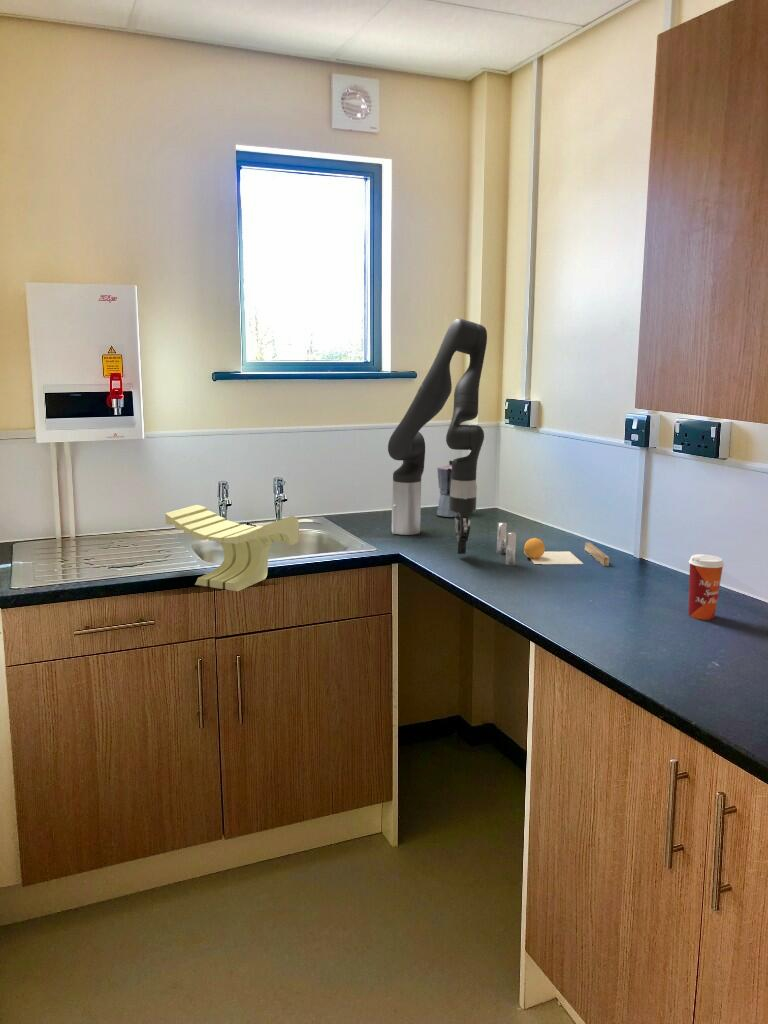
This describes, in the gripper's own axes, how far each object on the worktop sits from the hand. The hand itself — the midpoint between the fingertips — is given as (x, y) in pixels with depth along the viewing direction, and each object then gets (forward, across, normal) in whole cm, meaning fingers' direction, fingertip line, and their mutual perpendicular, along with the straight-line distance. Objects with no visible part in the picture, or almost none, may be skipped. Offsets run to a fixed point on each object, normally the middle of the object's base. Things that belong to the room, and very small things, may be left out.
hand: (461, 553), depth 242 cm
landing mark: (+2, 0, +27) cm, 27 cm away
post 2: (+2, +7, +13) cm, 15 cm away
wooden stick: (+2, 0, +40) cm, 40 cm away
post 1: (+2, -7, +13) cm, 15 cm away
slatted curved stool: (+2, +21, -63) cm, 66 cm away
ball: (-2, 0, +21) cm, 21 cm away
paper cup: (+2, +53, +48) cm, 72 cm away
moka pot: (+2, -60, +5) cm, 60 cm away
